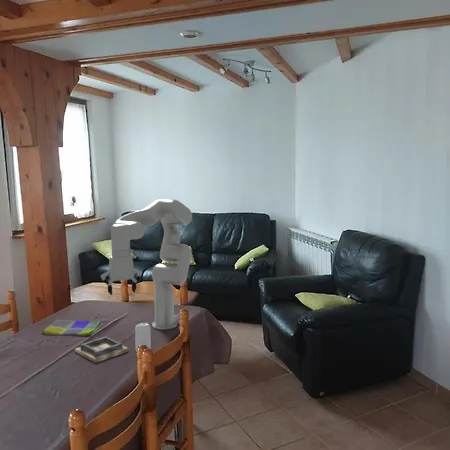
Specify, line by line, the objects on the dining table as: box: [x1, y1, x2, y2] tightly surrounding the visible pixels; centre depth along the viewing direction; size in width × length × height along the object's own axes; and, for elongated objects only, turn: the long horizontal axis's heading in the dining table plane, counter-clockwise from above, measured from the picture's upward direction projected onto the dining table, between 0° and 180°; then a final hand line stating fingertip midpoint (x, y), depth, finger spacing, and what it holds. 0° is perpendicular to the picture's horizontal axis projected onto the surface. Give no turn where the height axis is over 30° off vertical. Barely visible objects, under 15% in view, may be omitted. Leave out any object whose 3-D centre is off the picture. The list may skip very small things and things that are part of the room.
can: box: [134, 321, 152, 352], centre depth 194 cm, size 6×6×12 cm
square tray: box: [74, 335, 129, 364], centre depth 193 cm, size 16×16×4 cm
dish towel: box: [42, 318, 104, 337], centre depth 220 cm, size 18×24×3 cm
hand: (122, 292), depth 191 cm, fingers open, 9 cm apart
